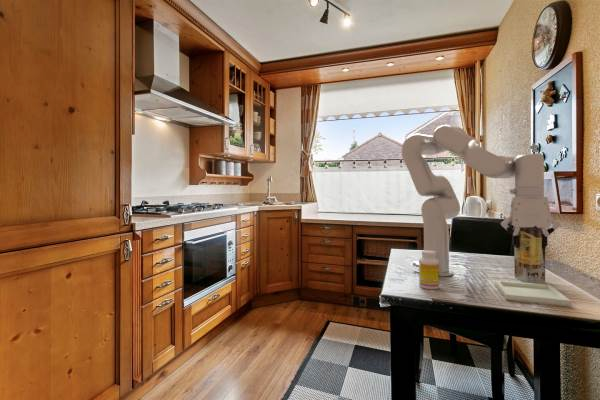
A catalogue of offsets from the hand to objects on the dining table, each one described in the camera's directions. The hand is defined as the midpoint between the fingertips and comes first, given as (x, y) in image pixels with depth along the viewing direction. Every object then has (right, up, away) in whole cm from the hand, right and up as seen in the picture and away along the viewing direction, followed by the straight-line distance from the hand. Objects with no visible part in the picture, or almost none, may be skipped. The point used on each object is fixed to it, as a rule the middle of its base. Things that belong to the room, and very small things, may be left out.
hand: (529, 247), depth 97 cm
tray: (0, -16, +1) cm, 16 cm away
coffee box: (+12, -15, +16) cm, 25 cm away
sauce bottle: (0, -7, 0) cm, 7 cm away
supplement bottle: (-28, -16, +10) cm, 34 cm away
